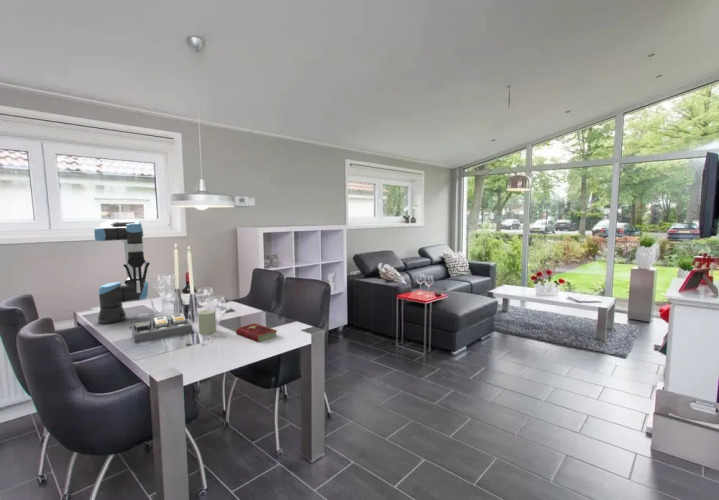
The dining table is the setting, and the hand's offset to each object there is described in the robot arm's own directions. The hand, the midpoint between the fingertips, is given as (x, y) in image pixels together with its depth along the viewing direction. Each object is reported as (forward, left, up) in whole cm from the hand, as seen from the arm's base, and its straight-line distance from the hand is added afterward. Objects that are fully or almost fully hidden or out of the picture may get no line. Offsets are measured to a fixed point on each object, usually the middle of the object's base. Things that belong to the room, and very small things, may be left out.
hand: (138, 292), depth 210 cm
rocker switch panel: (+13, +9, -22) cm, 27 cm away
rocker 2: (+10, +18, -16) cm, 26 cm away
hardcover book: (+49, +50, -23) cm, 73 cm away
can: (+26, +30, -23) cm, 46 cm away
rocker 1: (+10, 0, -16) cm, 19 cm away
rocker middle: (+10, +9, -16) cm, 21 cm away
